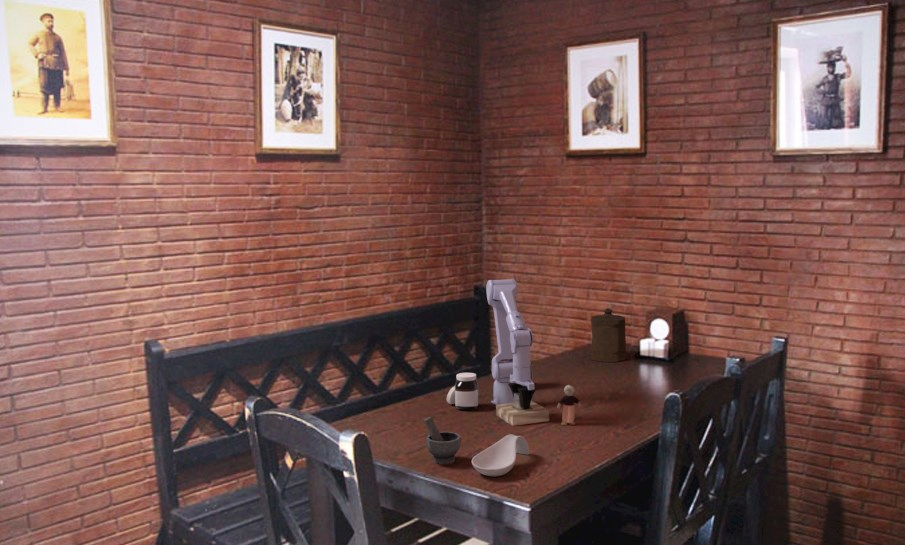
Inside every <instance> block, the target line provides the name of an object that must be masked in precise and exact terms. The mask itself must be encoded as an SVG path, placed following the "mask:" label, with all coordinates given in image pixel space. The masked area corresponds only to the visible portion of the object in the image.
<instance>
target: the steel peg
mask: <svg viewBox="0 0 905 545" xmlns="http://www.w3.org/2000/svg"><path fill="white" fill-rule="evenodd" d="M514 409H516V410H518V411H521V410H528V409H523V408H522V401H521V396H520V393H514ZM529 409H530V408H529Z"/></svg>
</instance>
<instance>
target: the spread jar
mask: <svg viewBox="0 0 905 545" xmlns="http://www.w3.org/2000/svg"><path fill="white" fill-rule="evenodd" d="M446 402H447V403H448V404H450V405H452V404H453V405H455V408H456V409H458V410H460V411H473V410H476V409H478V407H479V383H478V381H477V374H476V373H474V372H460V373H457V374H456V381H455V385H454V386H452V387H451V388H450V389H449V391H448V393H447V395H446Z"/></svg>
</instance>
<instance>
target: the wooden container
mask: <svg viewBox="0 0 905 545" xmlns="http://www.w3.org/2000/svg"><path fill="white" fill-rule="evenodd" d="M590 319H591V320H590V328H591V330H590V358H591V360H593V361H596V362H600V363H601V362H602V363H617V362H623V361H625V360H627V359H626V358H627V351H626V350H627V342H626V341H627V340H626V338H627V337H626V317H625V316H622V315H617V314H615V315H614V314H613V309H612V308H605V309H604V314H597V315H592V316H591V317H590Z"/></svg>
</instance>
